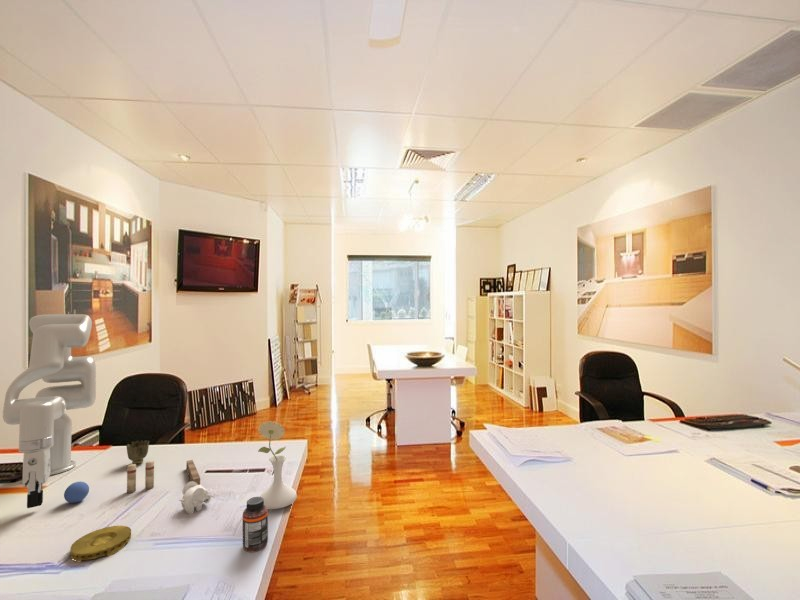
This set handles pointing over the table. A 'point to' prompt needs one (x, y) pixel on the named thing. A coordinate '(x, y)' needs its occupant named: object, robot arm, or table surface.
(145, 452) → the cup
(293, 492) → the flower in vase
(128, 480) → the front pin
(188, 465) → the wooden plank
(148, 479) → the rear pin
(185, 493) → the elephant figurine
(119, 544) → the gold brake disc
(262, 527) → the supplement bottle
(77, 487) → the ball
